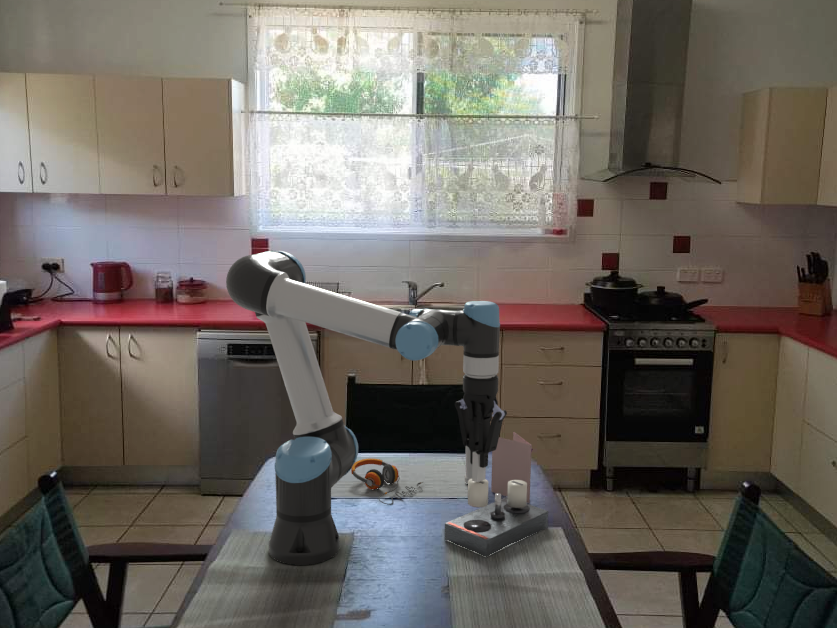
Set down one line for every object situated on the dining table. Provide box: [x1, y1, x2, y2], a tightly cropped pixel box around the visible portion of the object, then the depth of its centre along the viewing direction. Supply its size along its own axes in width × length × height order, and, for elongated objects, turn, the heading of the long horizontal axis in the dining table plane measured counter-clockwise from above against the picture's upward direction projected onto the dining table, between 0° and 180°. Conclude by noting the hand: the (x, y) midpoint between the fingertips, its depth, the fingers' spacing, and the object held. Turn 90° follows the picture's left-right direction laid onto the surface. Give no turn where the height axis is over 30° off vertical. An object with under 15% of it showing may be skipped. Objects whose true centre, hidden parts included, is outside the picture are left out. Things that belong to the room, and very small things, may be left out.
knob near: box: [467, 478, 489, 508], centre depth 177 cm, size 4×4×5 cm
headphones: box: [350, 458, 424, 506], centre depth 210 cm, size 17×5×20 cm
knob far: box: [506, 480, 527, 508], centre depth 187 cm, size 4×4×5 cm
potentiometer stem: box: [490, 493, 505, 520], centre depth 182 cm, size 3×3×5 cm
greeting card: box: [490, 431, 533, 504], centre depth 205 cm, size 11×7×15 cm, turn 16°
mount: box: [444, 496, 549, 558], centre depth 183 cm, size 12×22×4 cm, turn 135°
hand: (478, 479), depth 176 cm, fingers closed
